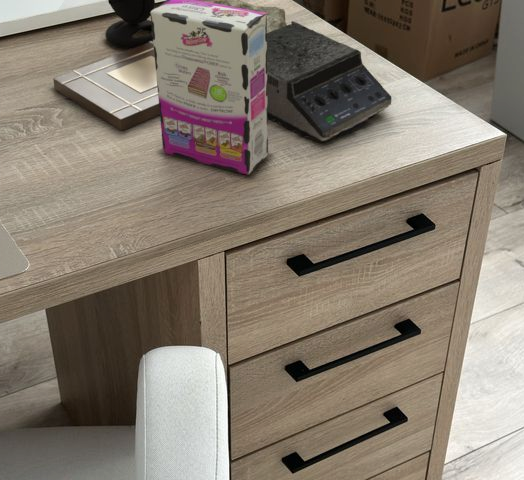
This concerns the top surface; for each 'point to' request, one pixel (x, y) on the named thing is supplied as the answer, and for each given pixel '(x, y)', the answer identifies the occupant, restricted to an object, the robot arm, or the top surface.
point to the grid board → (116, 87)
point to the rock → (273, 13)
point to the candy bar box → (212, 83)
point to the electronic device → (319, 84)
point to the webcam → (130, 23)
